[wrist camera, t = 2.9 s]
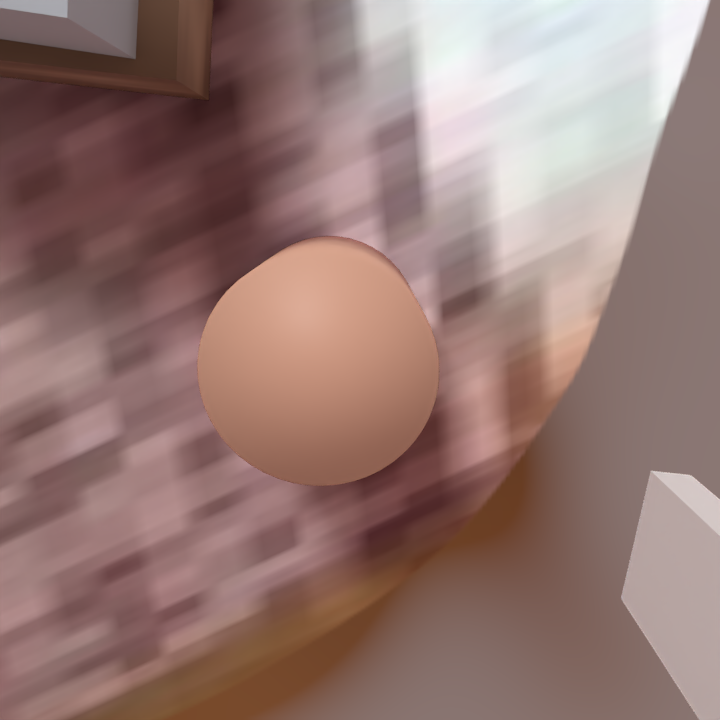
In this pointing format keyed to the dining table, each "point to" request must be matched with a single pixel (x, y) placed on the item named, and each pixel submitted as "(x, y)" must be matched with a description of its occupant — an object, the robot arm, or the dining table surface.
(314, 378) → the peach rounded blob
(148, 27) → the tower base
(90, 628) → the dining table surface
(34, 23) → the tower top
